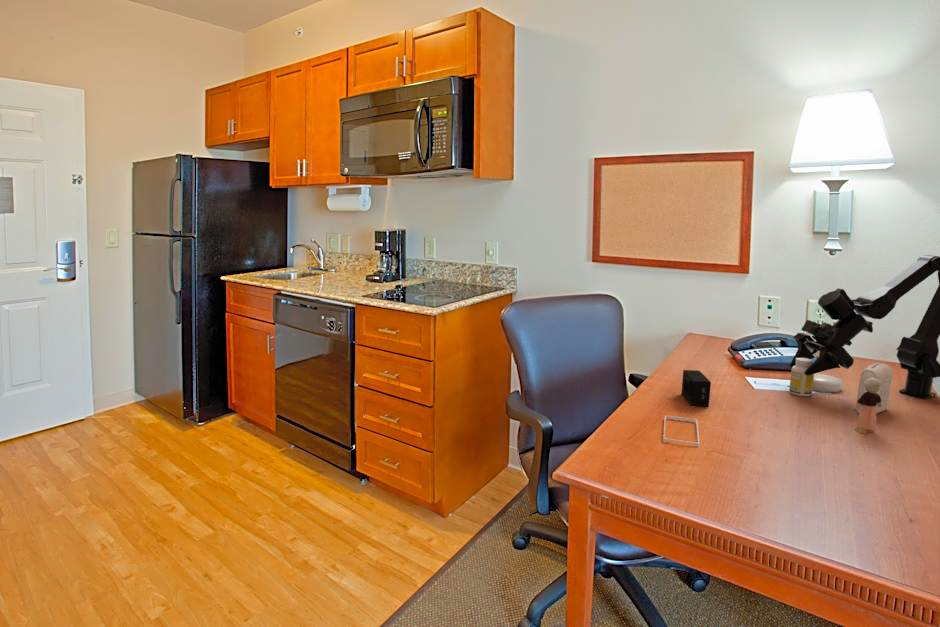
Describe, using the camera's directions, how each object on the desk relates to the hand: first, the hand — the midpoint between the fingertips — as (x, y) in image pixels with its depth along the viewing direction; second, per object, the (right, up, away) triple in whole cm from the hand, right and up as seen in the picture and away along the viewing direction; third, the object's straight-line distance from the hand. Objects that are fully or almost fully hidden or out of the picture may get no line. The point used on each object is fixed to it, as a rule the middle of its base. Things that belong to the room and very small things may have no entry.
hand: (797, 370), depth 155 cm
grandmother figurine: (+1, -12, -25) cm, 27 cm away
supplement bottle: (+1, -7, +1) cm, 7 cm away
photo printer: (+12, -9, -11) cm, 19 cm away
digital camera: (-31, -8, -5) cm, 32 cm away
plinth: (+11, -5, +8) cm, 14 cm away
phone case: (-42, -12, -26) cm, 51 cm away
